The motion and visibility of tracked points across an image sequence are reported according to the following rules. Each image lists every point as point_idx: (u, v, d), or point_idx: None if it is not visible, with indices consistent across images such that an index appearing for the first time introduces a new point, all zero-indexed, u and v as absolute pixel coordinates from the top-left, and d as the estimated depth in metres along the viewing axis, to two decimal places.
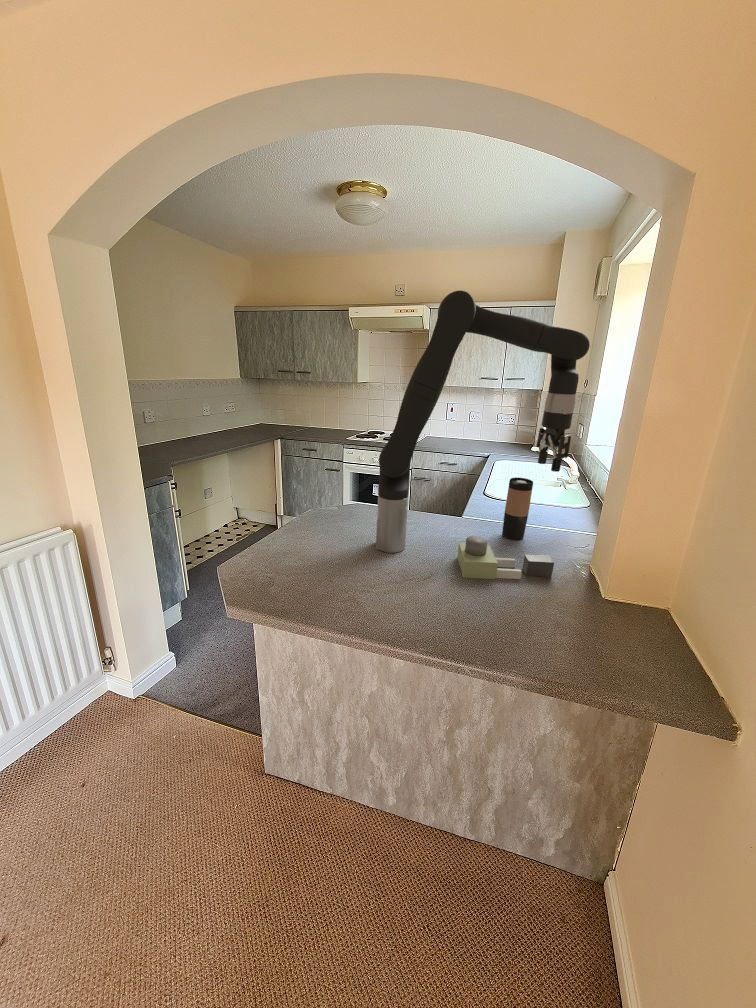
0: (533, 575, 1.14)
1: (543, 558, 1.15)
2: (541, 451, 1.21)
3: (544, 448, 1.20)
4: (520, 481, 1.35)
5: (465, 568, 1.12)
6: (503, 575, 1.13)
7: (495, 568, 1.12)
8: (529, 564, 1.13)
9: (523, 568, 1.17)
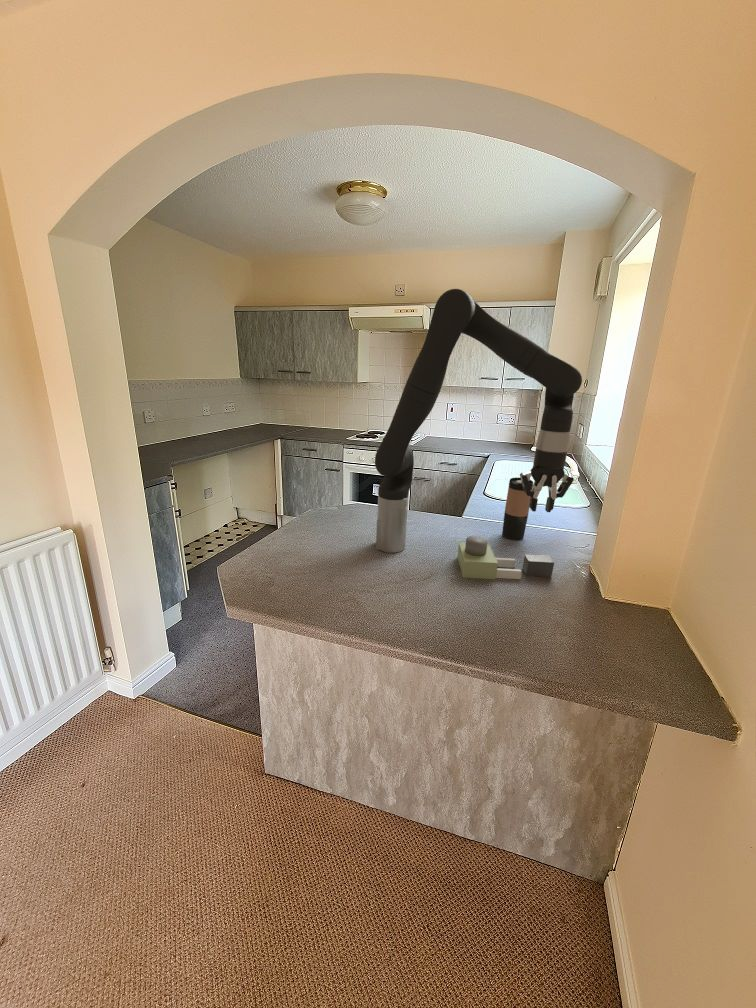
0: (533, 575, 1.14)
1: (543, 558, 1.15)
2: (536, 498, 1.08)
3: None
4: (520, 481, 1.35)
5: (465, 568, 1.12)
6: (503, 575, 1.13)
7: (495, 568, 1.12)
8: (529, 564, 1.13)
9: (523, 568, 1.17)
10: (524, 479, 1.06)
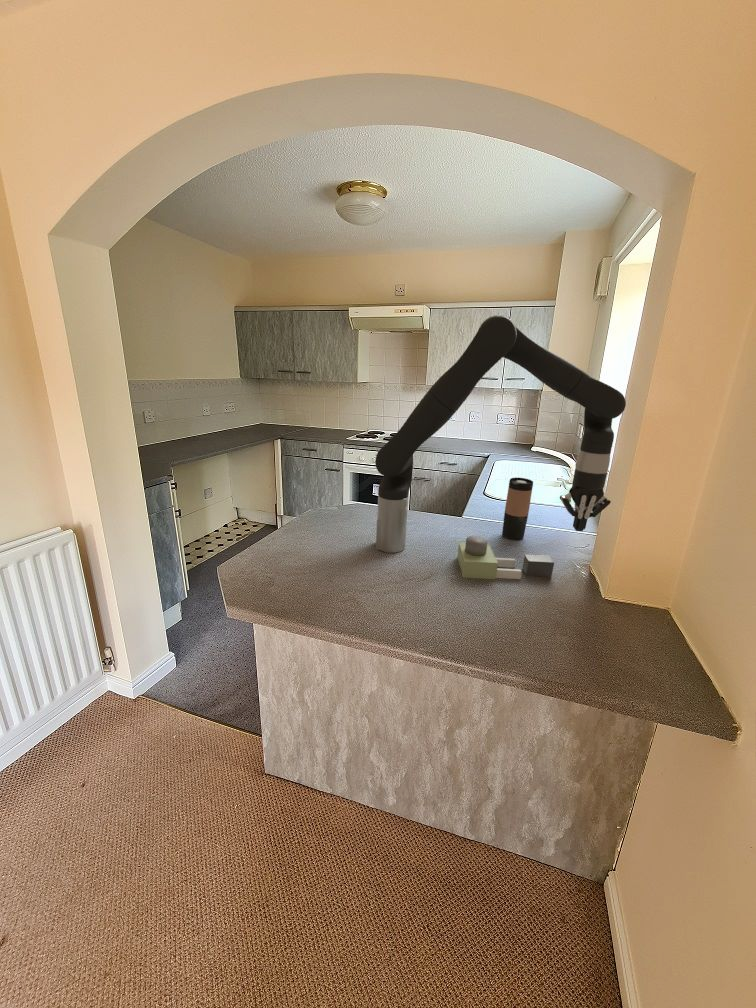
0: (533, 575, 1.14)
1: (543, 558, 1.15)
2: (581, 518, 1.09)
3: None
4: (520, 481, 1.35)
5: (465, 568, 1.12)
6: (503, 575, 1.13)
7: (495, 568, 1.12)
8: (529, 564, 1.13)
9: (523, 568, 1.17)
10: (565, 502, 1.08)
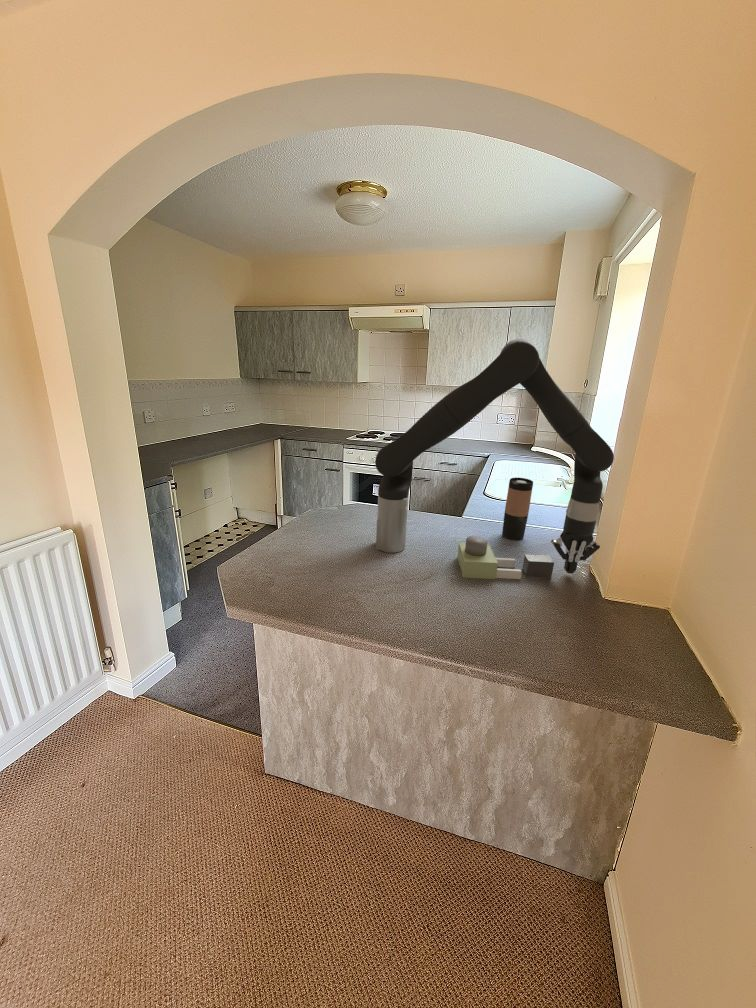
0: (533, 575, 1.14)
1: (543, 558, 1.15)
2: (572, 561, 1.14)
3: None
4: (520, 481, 1.35)
5: (465, 568, 1.12)
6: (503, 575, 1.13)
7: (495, 568, 1.12)
8: (529, 564, 1.13)
9: (523, 568, 1.17)
10: (556, 546, 1.12)
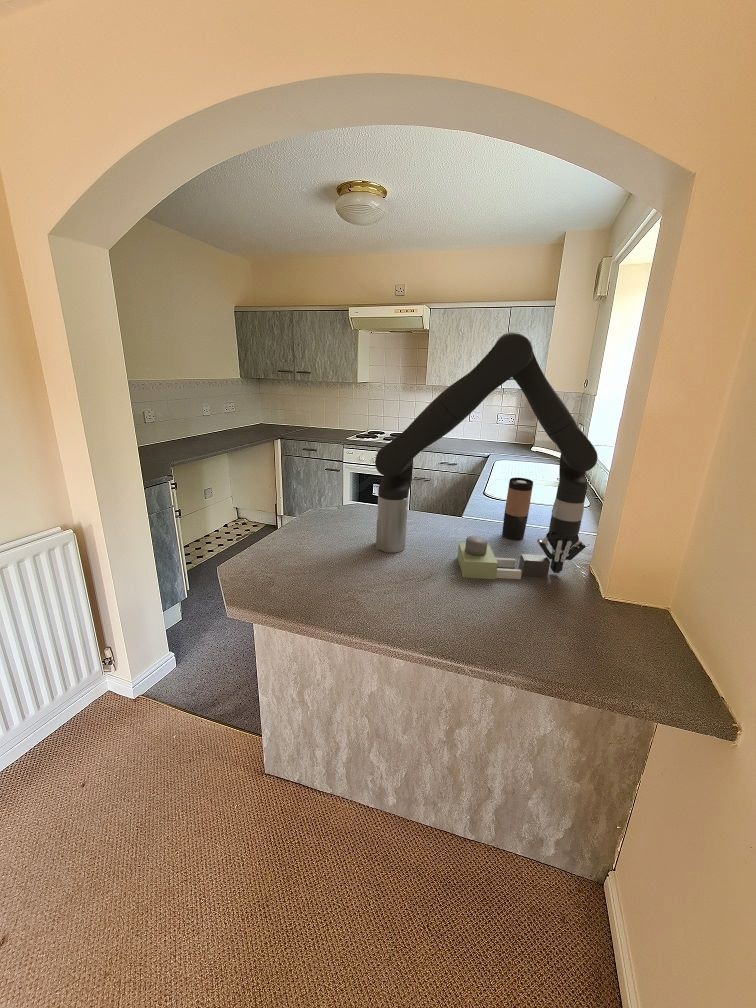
0: (529, 574, 1.14)
1: (539, 557, 1.15)
2: (558, 561, 1.14)
3: None
4: (520, 481, 1.35)
5: (465, 568, 1.12)
6: (503, 575, 1.13)
7: (495, 568, 1.12)
8: (525, 563, 1.13)
9: (519, 567, 1.17)
10: (542, 546, 1.12)
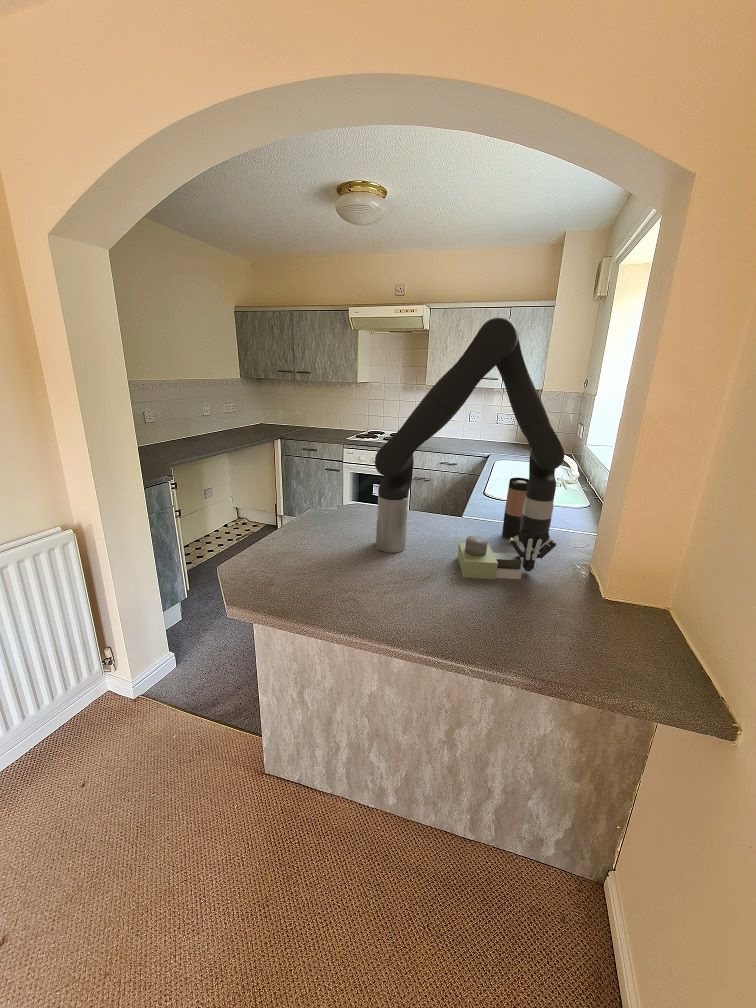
0: None
1: (511, 556, 1.15)
2: (529, 559, 1.14)
3: None
4: (520, 481, 1.35)
5: (465, 568, 1.12)
6: (503, 575, 1.13)
7: (495, 568, 1.12)
8: None
9: None
10: (513, 544, 1.13)
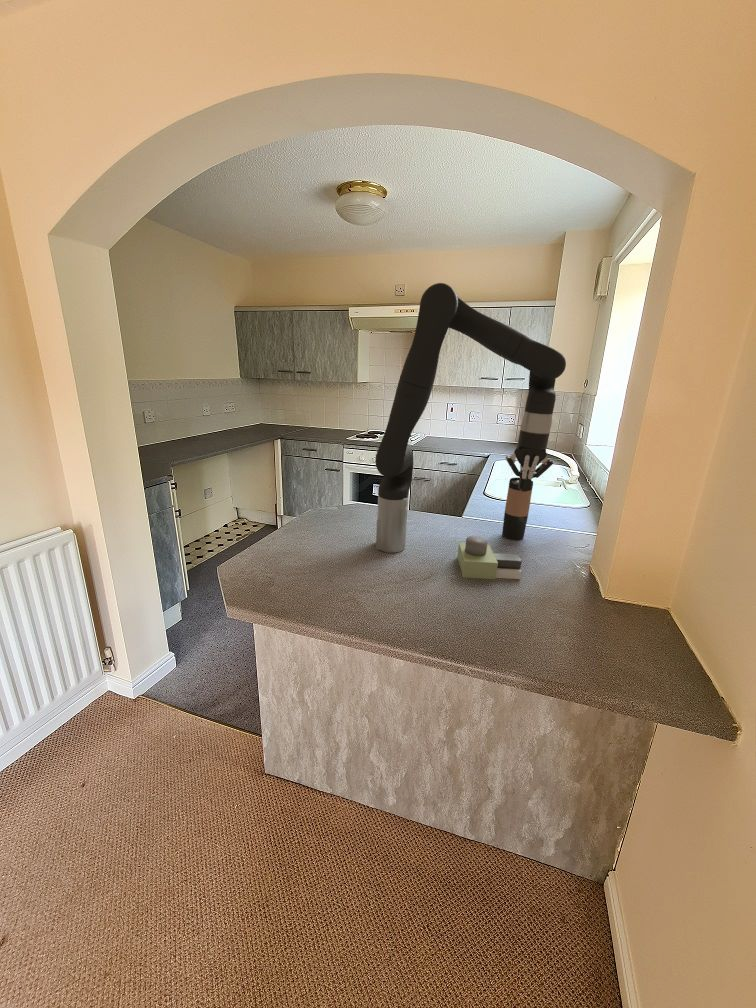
0: None
1: (511, 556, 1.15)
2: (525, 478, 1.13)
3: None
4: None
5: (465, 568, 1.12)
6: (503, 575, 1.13)
7: (495, 568, 1.12)
8: None
9: None
10: (510, 462, 1.12)
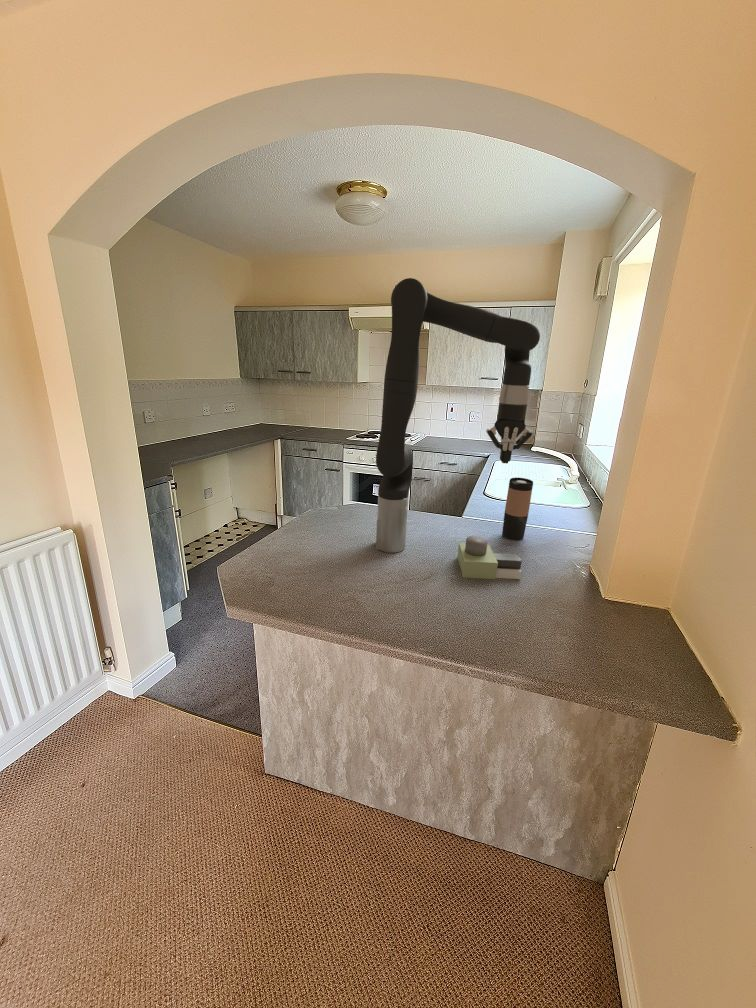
0: None
1: (511, 556, 1.15)
2: (506, 450, 1.17)
3: None
4: (520, 481, 1.35)
5: (465, 568, 1.12)
6: (503, 575, 1.13)
7: (495, 568, 1.12)
8: None
9: None
10: (490, 434, 1.15)
